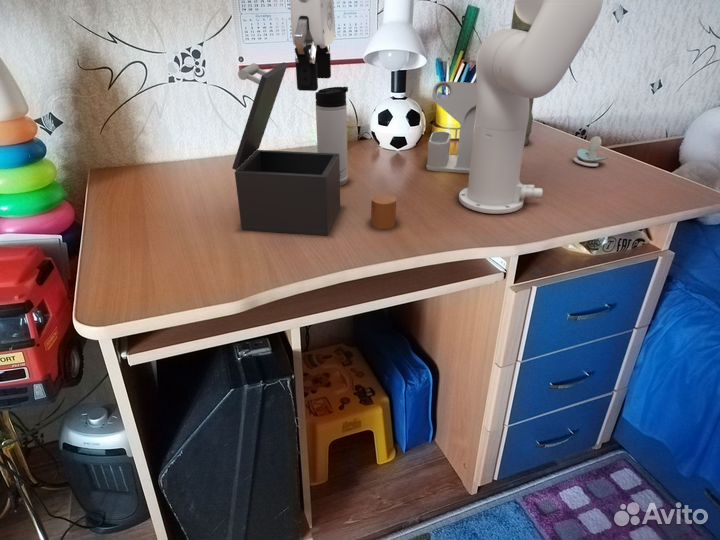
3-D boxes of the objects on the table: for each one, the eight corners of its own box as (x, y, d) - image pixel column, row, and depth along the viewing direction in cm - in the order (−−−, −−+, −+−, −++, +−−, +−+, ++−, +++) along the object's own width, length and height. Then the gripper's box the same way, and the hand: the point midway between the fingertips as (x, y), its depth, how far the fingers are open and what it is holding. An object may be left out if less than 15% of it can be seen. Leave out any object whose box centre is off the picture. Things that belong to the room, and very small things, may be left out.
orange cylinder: (396, 220, 101) (397, 195, 98) (394, 230, 97) (394, 204, 94) (372, 218, 101) (373, 193, 99) (369, 228, 97) (369, 203, 95)
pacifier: (591, 170, 124) (609, 165, 126) (596, 144, 121) (615, 139, 123) (566, 161, 129) (584, 156, 132) (571, 135, 126) (589, 131, 129)
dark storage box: (340, 207, 105) (339, 153, 100) (327, 235, 95) (325, 176, 89) (262, 203, 108) (257, 149, 102) (241, 230, 97) (234, 172, 92)
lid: (287, 64, 93) (260, 50, 93) (266, 77, 83) (235, 62, 82) (258, 148, 102) (233, 136, 101) (236, 170, 91) (207, 157, 91)
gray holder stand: (424, 169, 124) (428, 88, 115) (429, 156, 133) (434, 79, 123) (501, 176, 120) (512, 92, 111) (502, 161, 129) (512, 83, 120)
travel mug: (345, 188, 114) (344, 91, 104) (315, 186, 115) (311, 89, 105) (352, 178, 119) (351, 84, 109) (323, 176, 121) (319, 83, 111)
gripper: (321, -36, 72) (326, 96, 80) (345, -38, 86) (347, 74, 95) (266, -36, 73) (277, 94, 81) (299, -38, 87) (305, 73, 96)
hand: (314, 83), depth 88 cm, fingers open, 9 cm apart
